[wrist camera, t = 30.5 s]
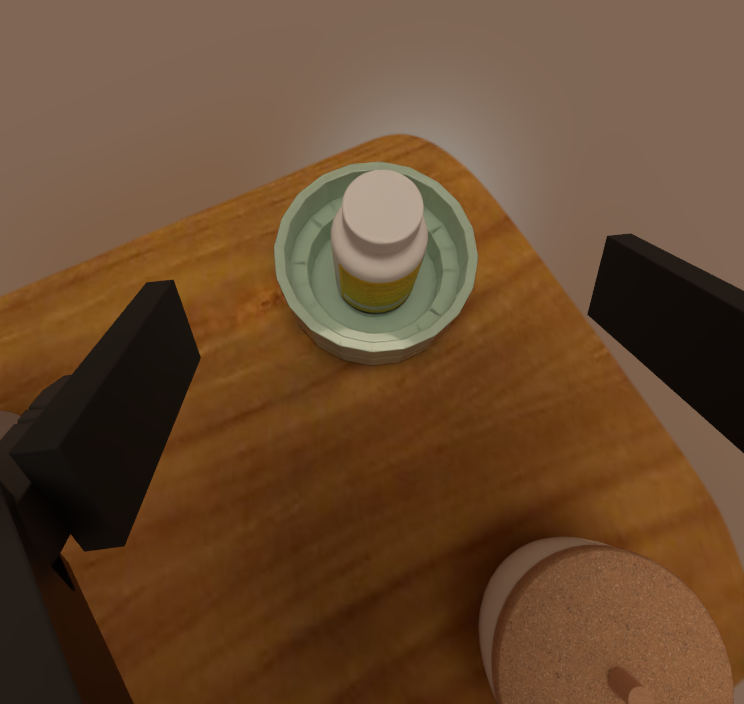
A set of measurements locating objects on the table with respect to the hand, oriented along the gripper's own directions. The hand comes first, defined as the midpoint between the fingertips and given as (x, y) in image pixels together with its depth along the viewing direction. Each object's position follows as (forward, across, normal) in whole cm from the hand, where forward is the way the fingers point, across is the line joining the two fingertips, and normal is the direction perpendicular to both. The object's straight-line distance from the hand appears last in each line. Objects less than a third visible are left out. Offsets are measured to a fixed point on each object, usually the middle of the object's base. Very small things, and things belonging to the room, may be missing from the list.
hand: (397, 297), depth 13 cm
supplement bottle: (+16, +1, -7) cm, 17 cm away
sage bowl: (+16, +1, -7) cm, 18 cm away
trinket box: (0, +8, -23) cm, 24 cm away
